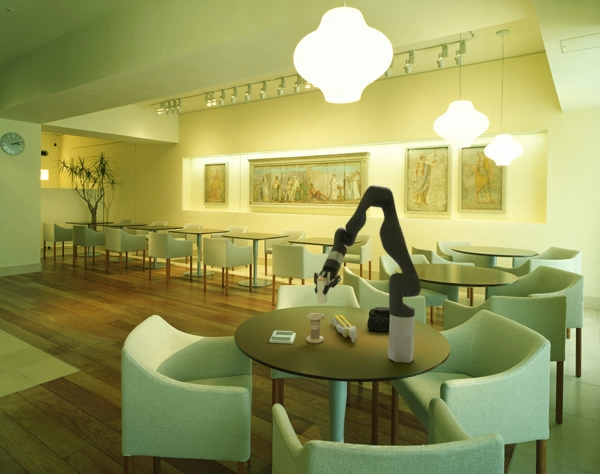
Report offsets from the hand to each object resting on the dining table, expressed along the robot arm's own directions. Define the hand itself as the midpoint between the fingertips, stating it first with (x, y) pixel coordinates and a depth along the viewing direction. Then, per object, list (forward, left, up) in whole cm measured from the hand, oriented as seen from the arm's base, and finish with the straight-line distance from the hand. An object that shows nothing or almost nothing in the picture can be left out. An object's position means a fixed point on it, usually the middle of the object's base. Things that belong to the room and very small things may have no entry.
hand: (320, 293), depth 186 cm
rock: (+17, -32, -20) cm, 41 cm away
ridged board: (-6, +15, -20) cm, 26 cm away
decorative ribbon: (+6, -11, -20) cm, 24 cm away
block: (+2, -1, -5) cm, 5 cm away
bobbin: (-6, +1, -20) cm, 20 cm away
